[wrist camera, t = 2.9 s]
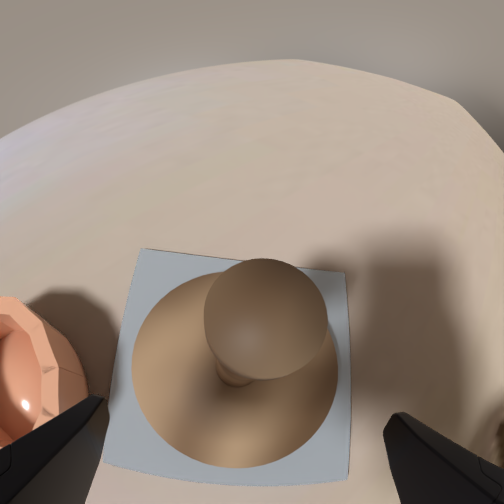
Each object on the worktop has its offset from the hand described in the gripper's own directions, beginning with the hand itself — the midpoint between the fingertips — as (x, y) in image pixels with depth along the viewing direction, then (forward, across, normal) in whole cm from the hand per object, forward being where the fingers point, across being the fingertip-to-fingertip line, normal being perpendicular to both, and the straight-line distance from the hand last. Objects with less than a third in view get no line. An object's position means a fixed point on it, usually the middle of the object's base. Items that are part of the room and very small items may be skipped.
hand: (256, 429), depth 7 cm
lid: (+10, 0, +5) cm, 11 cm away
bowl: (+6, +15, +8) cm, 18 cm away
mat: (+10, 0, +5) cm, 11 cm away
